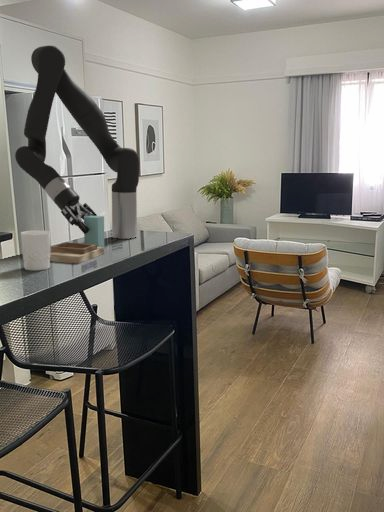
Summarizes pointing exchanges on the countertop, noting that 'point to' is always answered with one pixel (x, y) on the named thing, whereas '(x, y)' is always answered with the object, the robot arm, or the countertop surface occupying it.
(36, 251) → the white cup
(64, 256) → the tan flat rimmed tray
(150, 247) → the countertop surface
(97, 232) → the pale teal block
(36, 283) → the countertop surface
